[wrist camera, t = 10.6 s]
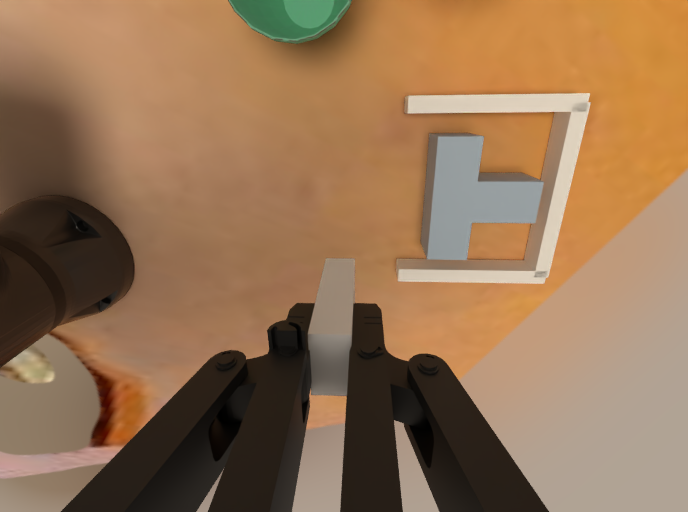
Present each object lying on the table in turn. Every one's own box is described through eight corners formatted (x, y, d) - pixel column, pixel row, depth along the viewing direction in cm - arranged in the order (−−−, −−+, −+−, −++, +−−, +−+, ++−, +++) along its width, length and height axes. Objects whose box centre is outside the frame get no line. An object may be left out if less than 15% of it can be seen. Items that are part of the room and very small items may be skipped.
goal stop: (395, 270, 42) (398, 281, 39) (405, 96, 34) (408, 95, 32) (534, 271, 41) (546, 283, 38) (574, 94, 34) (593, 93, 31)
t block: (420, 242, 40) (427, 259, 36) (429, 133, 36) (438, 136, 31) (508, 243, 40) (527, 261, 35) (529, 132, 35) (553, 136, 30)
